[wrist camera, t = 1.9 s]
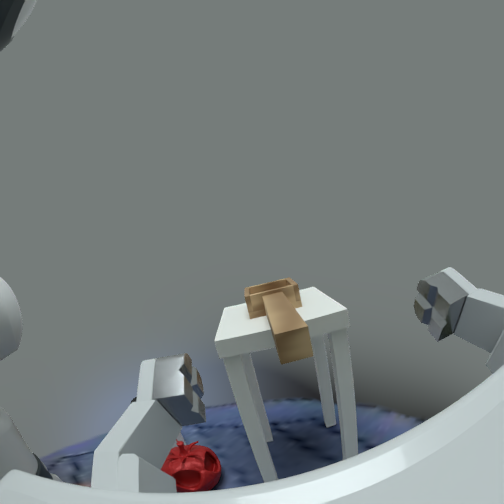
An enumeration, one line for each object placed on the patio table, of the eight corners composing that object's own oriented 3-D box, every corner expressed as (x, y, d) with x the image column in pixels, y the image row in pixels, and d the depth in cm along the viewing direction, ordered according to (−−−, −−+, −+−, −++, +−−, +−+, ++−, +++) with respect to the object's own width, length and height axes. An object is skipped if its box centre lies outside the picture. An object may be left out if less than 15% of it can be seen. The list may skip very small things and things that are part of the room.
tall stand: (266, 493, 28) (214, 341, 27) (260, 436, 43) (224, 307, 42) (360, 468, 29) (347, 308, 28) (334, 418, 44) (313, 286, 43)
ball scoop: (253, 370, 19) (244, 335, 19) (249, 307, 39) (244, 288, 39) (339, 348, 19) (334, 313, 19) (293, 296, 39) (289, 277, 39)
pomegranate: (158, 481, 32) (135, 444, 32) (201, 455, 40) (184, 418, 39) (191, 511, 26) (166, 474, 25) (239, 477, 33) (223, 439, 32)
